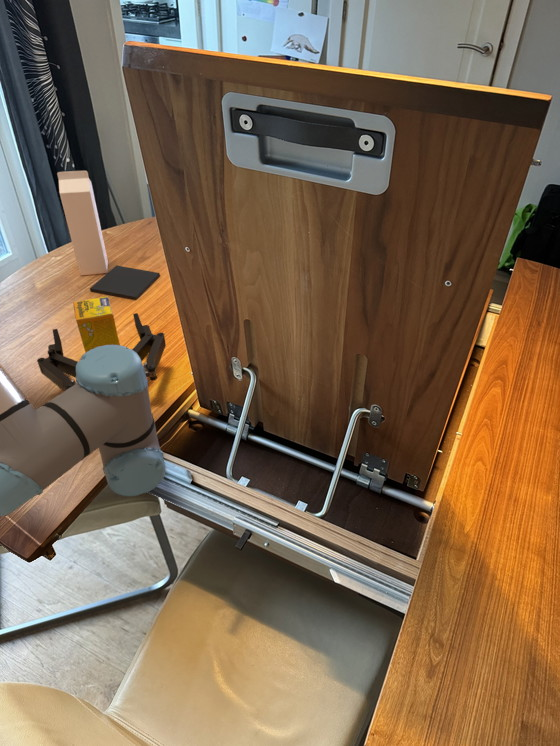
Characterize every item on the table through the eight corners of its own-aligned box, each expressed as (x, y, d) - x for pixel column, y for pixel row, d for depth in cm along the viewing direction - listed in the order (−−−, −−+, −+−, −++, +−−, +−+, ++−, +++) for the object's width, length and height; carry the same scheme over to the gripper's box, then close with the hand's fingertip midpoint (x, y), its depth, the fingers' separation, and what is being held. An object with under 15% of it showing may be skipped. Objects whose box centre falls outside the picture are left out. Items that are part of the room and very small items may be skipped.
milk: (81, 263, 121) (57, 167, 107) (108, 261, 122) (88, 165, 108) (80, 276, 116) (54, 177, 102) (108, 273, 118) (86, 175, 104)
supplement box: (86, 352, 95) (72, 301, 88) (119, 345, 97) (108, 295, 90) (89, 371, 91) (75, 319, 84) (124, 364, 93) (113, 312, 86)
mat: (90, 291, 111) (89, 288, 111) (116, 268, 120) (116, 265, 119) (136, 300, 109) (135, 297, 109) (160, 276, 117) (159, 272, 117)
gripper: (34, 444, 75) (27, 360, 89) (201, 401, 82) (169, 330, 97) (19, 407, 70) (14, 324, 85) (198, 364, 78) (165, 295, 92)
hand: (97, 327), depth 91 cm, fingers open, 13 cm apart
